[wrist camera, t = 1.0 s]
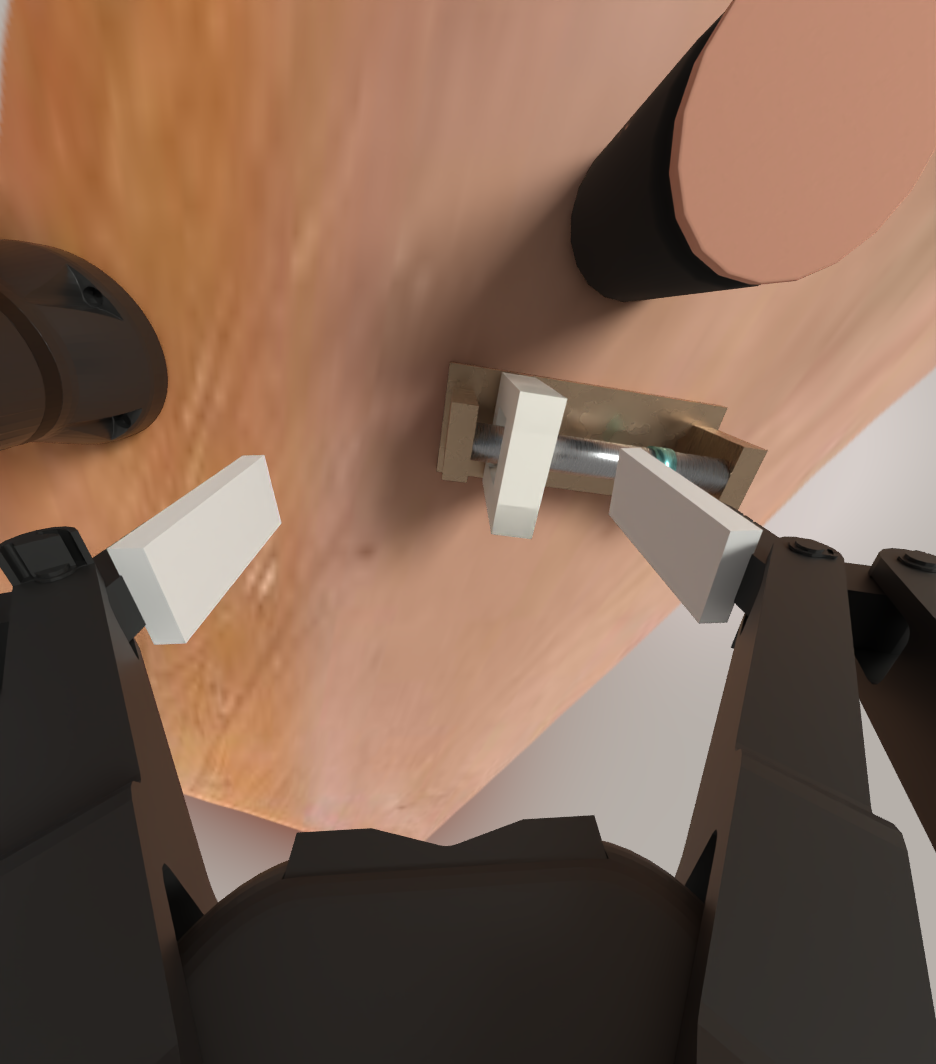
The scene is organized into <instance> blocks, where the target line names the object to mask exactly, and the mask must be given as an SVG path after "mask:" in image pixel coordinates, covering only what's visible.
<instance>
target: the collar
mask: <svg viewBox="0 0 936 1064" xmlns="http://www.w3.org/2000/svg"><path fill="white" fill-rule="evenodd" d="M566 402H567V398H566V397H564V396H563V395H561V394H560V393H558V392H557V391H555V390H554V389H552V388H551V387H549V386H548V385H546V384H545V383H543V382H542V381H540V380H539V379H537V378H536V377H529V376H523V375H517V374H511V373H505V372H502V374H501V380H500V385H499V391H498V397H497V402H496V408H495V413H494V419H493V425H499V426H505V429H504V434H503V439H502V444H501V449H500V455H499V460H498V464H494V463H487V462H486V464H485V469H484V475H483V480H482V482H483V488H484V494H485V500H486V506H487V512H488V518H489V524H490V529H491V534H494V535H503V536H511V537H519V538H527V539H532V535H533V531H534V527H535V523H536V520H537V516H538V512H539V508H540V504H541V500H542V496H543V492H544V488H545V484H546V480H547V477H548V473H549V469H550V465H551V461H552V457H553V453H554V449H555V445H556V441H557V437H558V434H559V430H560V426H561V422H562V418H563V414H564V410H565V406H566Z"/></svg>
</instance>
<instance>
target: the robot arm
mask: <svg viewBox="0 0 936 1064" xmlns="http://www.w3.org/2000/svg"><path fill="white" fill-rule="evenodd" d="M167 386H168V376H167V367H166V362H165V357H164V354H163V350H162V348H161V345H160V342H159V340H158V338H157V335H156V333H155V331H154V329H153V328H152V326H151V324H150V322H149V321H148V319H147V318H146V316H145V314H144V313H143V312H142V310H141V309H140V307H139V306H138V305H137V304H136V302H135V301H134V300H133V299H132V298H131V297H130V296H129V294H128V293H127V292H126V291H125V290H124V289H123V288H122V287H121V286H120V285H119V284H117V283H116V282H115V281H114V280H113V279H112V278H111V277H109V276H108V275H107V274H105V273H104V272H103V271H101V270H100V269H99V268H97V267H96V266H94V265H92V264H91V263H89V262H87V261H86V260H84V259H82V258H80V257H78V256H76V255H74V254H71V253H69V252H66V251H64V250H61V249H57V248H54V247H50V246H45V245H40V244H35V243H29V242H24V241H17V240H0V450H4V449H7V448H10V447H14V446H17V445H21V444H25V443H28V442H46V443H67V444H102V443H109V442H113V441H116V440H119V439H122V438H125V437H128V436H131V435H134V434H136V433H138V432H140V431H142V430H144V429H145V428H147V427H148V426H149V425H150V424H151V423H152V422H153V421H154V420H155V419H156V418H157V416H158V415H159V413H160V411H161V409H162V407H163V405H164V402H165V399H166V394H167ZM609 515H610V517H611V518H612V519H613V520H614V522H615V523H616V524H617V525H618V526H619V528H620V529H621V530H622V531H623V532H624V534H625V535H626V536H627V537H628V538H629V540H630V541H631V542H632V543H633V544H634V546H635V547H636V548H637V549H638V551H639V552H640V553H641V554H642V555H643V557H644V558H645V559H646V560H647V561H648V563H649V564H650V565H651V566H652V567H653V569H654V570H655V571H656V572H657V573H658V575H659V576H660V577H661V578H662V580H663V581H664V582H665V583H666V584H667V586H668V587H669V588H670V589H671V590H672V592H673V593H674V594H675V595H676V596H677V598H678V599H679V600H680V601H681V603H682V604H683V605H684V606H685V607H686V608H687V610H688V611H689V612H690V613H691V615H692V616H693V617H694V618H695V619H696V621H697V622H698V623H699V624H700V623H725V622H727V621H728V619H729V616H730V614H731V611H732V609H733V606H734V603H736V605H737V606H738V607H739V608H740V609H741V610H742V611H743V612H745V614H744V616H743V619H742V621H741V624H740V627H739V629H738V631H737V634H736V637H735V639H734V641H733V644H732V646H731V648H734V651H733V655H732V659H731V663H730V667H729V671H728V675H727V679H726V683H725V687H724V691H723V696H722V699H721V703H720V707H719V711H718V715H717V720H716V723H715V727H714V731H713V735H712V739H711V743H710V747H709V751H708V755H707V759H706V763H705V767H704V771H703V775H702V780H701V783H700V788H699V791H698V796H697V800H696V804H695V808H694V812H693V816H692V820H691V824H690V828H689V832H688V836H687V840H686V844H685V848H684V851H683V855H682V858H681V861H680V864H679V867H678V870H677V873H676V875H675V878H674V877H673V876H672V875H671V874H669V873H668V872H666V871H665V870H663V869H662V868H660V867H659V866H657V865H656V864H654V863H653V862H651V861H650V860H648V859H646V858H644V857H642V856H640V855H638V854H636V853H634V852H633V851H631V850H628V849H626V848H623V847H620V846H618V845H615V844H612V843H609V842H605V841H602V840H601V836H600V833H599V830H598V826H597V823H596V820H595V816H594V815H591V816H574V817H558V818H540V819H523V820H520V821H518V822H515V823H512V824H510V825H507V826H504V827H502V828H499V829H496V830H494V831H491V832H488V833H485V834H483V835H480V836H478V837H475V838H472V839H469V840H467V841H464V842H462V843H459V844H456V845H452V846H440V845H436V844H432V843H428V842H424V841H420V840H416V839H412V838H408V837H404V836H400V835H396V834H392V833H388V832H384V831H380V830H376V829H372V828H369V829H352V830H335V831H317V832H300V833H297V834H296V837H295V841H294V844H293V848H292V851H291V855H290V858H289V860H288V861H285V862H283V863H280V864H278V865H276V866H274V867H272V868H270V869H268V870H266V871H264V872H262V873H260V874H258V875H257V876H255V877H254V878H252V879H250V880H249V881H247V882H246V883H244V884H242V885H241V886H239V887H238V888H237V889H235V890H234V891H233V892H231V893H230V894H229V895H227V896H226V897H225V898H223V899H222V900H221V901H219V902H217V900H216V898H215V895H214V893H213V890H212V888H211V885H210V882H209V879H208V876H207V873H206V870H205V866H204V863H203V859H202V856H201V853H200V849H199V846H198V843H197V839H196V836H195V833H194V830H193V826H192V822H191V819H190V816H189V813H188V809H187V806H186V802H185V799H184V795H183V792H182V789H181V785H180V782H179V779H178V775H177V772H176V769H175V765H174V762H173V759H172V755H171V752H170V748H169V745H168V742H167V738H166V735H165V732H164V728H163V725H162V722H161V718H160V715H159V711H158V708H157V705H156V701H155V698H154V695H153V691H152V688H151V685H150V681H149V678H148V675H147V671H146V668H145V664H144V661H143V658H142V654H141V651H140V648H139V646H138V644H137V642H136V641H135V639H134V637H135V636H136V634H137V633H138V632H139V631H140V630H141V629H142V628H143V627H144V626H145V627H146V629H147V631H148V633H149V635H150V637H151V639H152V641H153V643H154V645H156V644H182V643H187V641H188V640H189V639H190V638H191V636H192V635H193V634H194V633H195V631H196V630H197V629H198V628H199V626H200V625H201V624H202V622H203V621H204V620H205V619H206V617H207V616H208V615H209V614H210V612H211V611H212V610H213V609H214V607H215V606H216V605H217V604H218V602H219V601H220V600H221V599H222V597H223V596H224V595H225V593H226V592H227V591H228V590H229V588H230V587H231V586H232V585H233V583H234V582H235V581H236V580H237V578H238V577H239V576H240V575H241V573H242V572H243V571H244V570H245V568H246V567H247V566H248V564H249V563H250V562H251V561H252V559H253V558H254V557H255V556H256V554H257V553H258V552H259V551H260V549H261V548H262V547H263V546H264V544H265V543H266V542H267V541H268V539H269V538H270V537H271V535H272V534H273V533H274V532H275V530H276V529H277V528H278V527H279V525H280V524H281V520H280V516H279V512H278V508H277V504H276V500H275V496H274V492H273V488H272V484H271V480H270V476H269V472H268V468H267V464H266V460H265V456H264V455H250V456H241V457H240V458H239V459H237V460H236V461H234V462H233V463H231V464H230V465H228V466H227V467H225V468H224V469H222V470H221V471H220V472H218V473H217V474H215V475H214V476H212V477H211V478H209V479H208V480H206V481H205V482H204V483H202V484H201V485H199V486H198V487H196V488H195V489H193V490H192V491H190V492H189V493H188V494H186V495H185V496H183V497H182V498H180V499H179V500H177V501H176V502H174V503H173V504H172V505H170V506H169V507H167V508H166V509H164V510H163V511H161V512H160V513H158V514H157V515H155V516H154V517H153V518H151V519H150V520H148V521H147V522H145V523H143V524H142V525H140V526H139V527H137V528H136V529H134V530H133V531H131V533H129V534H127V535H126V536H124V537H123V538H121V539H120V540H119V541H117V542H115V543H114V544H112V545H111V546H110V547H108V548H107V549H105V550H104V551H102V552H101V553H99V554H98V555H96V556H95V557H93V558H92V557H91V555H90V553H89V551H88V549H87V547H86V545H85V543H84V542H83V540H82V538H81V536H80V534H79V532H78V530H76V529H75V528H74V527H66V526H64V527H51V528H46V529H41V530H36V531H32V532H29V533H25V534H22V535H19V536H16V537H14V538H11V539H9V540H6V541H4V542H2V543H1V544H0V567H1V569H2V570H3V572H4V574H5V575H6V577H7V578H8V580H9V581H10V583H11V584H12V586H13V590H12V592H8V593H2V594H0V1064H936V1018H935V1012H934V1006H933V1000H932V994H931V988H930V982H929V976H928V970H927V964H926V958H925V952H924V946H923V940H922V935H921V928H920V922H919V917H918V911H917V905H916V899H915V893H914V887H913V881H912V875H911V869H910V863H909V857H908V851H907V848H906V845H905V842H904V839H903V835H902V833H901V832H900V831H899V830H898V829H897V827H895V825H894V824H893V823H891V822H889V821H886V820H884V819H882V818H880V817H878V816H876V815H874V814H872V810H871V803H870V794H869V784H868V775H867V766H866V758H865V748H864V739H863V729H862V721H861V711H860V702H859V699H860V701H861V703H862V705H863V707H864V709H865V711H866V713H867V715H868V717H869V719H870V721H871V723H872V725H873V727H874V729H875V731H876V733H877V735H878V737H879V739H880V741H881V743H882V745H883V747H884V749H885V751H886V753H887V755H888V757H889V759H890V761H891V763H892V765H893V767H894V769H895V771H896V773H897V775H898V777H899V779H900V781H901V783H902V785H903V787H904V789H905V791H906V793H907V795H908V797H909V799H910V801H911V803H912V805H913V807H914V809H915V811H916V813H917V815H918V817H919V819H920V821H921V823H922V825H923V827H924V829H925V831H926V833H927V835H928V837H929V839H930V841H931V843H932V846H933V847H934V849H935V851H936V556H934V555H931V554H927V553H925V552H921V551H917V550H915V551H910V550H906V549H896V548H890V549H883V550H882V551H880V552H879V553H878V555H877V557H876V559H875V561H874V562H873V564H872V566H867V565H860V564H852V563H844V558H843V557H842V555H841V554H840V553H839V552H837V551H836V550H835V549H833V548H831V547H829V546H827V545H824V544H822V543H819V542H817V541H814V540H811V539H804V538H798V537H781V538H779V537H777V536H776V535H774V534H773V533H771V532H770V531H768V530H767V529H765V528H764V527H762V526H761V525H759V524H758V523H756V522H753V520H752V519H750V518H749V517H747V516H746V515H745V516H743V513H741V512H740V511H738V510H736V509H735V508H733V507H732V506H730V505H727V504H725V503H722V502H720V501H719V500H717V499H716V498H714V497H713V496H711V495H710V494H708V493H707V492H705V491H704V490H702V489H701V488H699V487H698V486H696V485H695V484H693V483H692V482H690V481H689V480H688V479H686V478H685V477H683V476H682V475H680V474H679V473H677V472H676V471H674V470H673V469H671V468H670V467H668V466H667V465H665V464H664V463H662V462H661V461H659V460H658V459H656V458H655V457H653V456H652V455H650V454H649V453H647V452H646V451H644V450H643V449H641V448H620V453H619V458H618V464H617V470H616V475H615V481H614V486H613V492H612V498H611V503H610V509H609Z"/></svg>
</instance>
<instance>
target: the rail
mask: <svg viewBox="0 0 936 1064" xmlns="http://www.w3.org/2000/svg"><path fill="white" fill-rule="evenodd" d="M502 372H505V373H511V374H517V375H523V376H529V377H536V378H537V379H539V380H540V381H542V382H543V383H545V384H546V385H548V386H549V387H551V388H552V389H554V390H555V391H557V392H558V393H560V394H561V395H563V396H564V397H566V398H567V402H566V406H565V410H564V414H563V418H562V422H561V426H560V430H559V434H558V437H557V441H556V445H555V449H554V453H553V457H552V461H551V465H550V469H549V473H548V477H547V480H546V484H545V487H553V488H560V489H567V490H575V491H582V492H589V493H597V494H604V495H611V496H612V492H613V486H614V481H615V475H616V470H617V464H618V458H619V453H620V448H641V449H643V450H644V451H646V452H647V453H649V454H650V455H652V456H653V457H655V458H656V459H658V460H659V461H661V462H662V463H664V464H665V465H667V466H668V467H670V468H671V469H673V470H674V471H676V472H677V473H679V474H680V475H682V476H683V477H685V478H686V479H688V480H689V481H690V482H692V483H693V484H695V485H696V486H698V487H699V488H701V489H702V490H704V491H705V492H707V493H708V494H710V495H711V496H713V497H714V498H716V499H717V500H719V501H720V502H722V503H725V504H727V505H730V506H732V507H733V508H735V509H736V510H738V509H739V507H740V505H741V503H742V501H743V499H744V497H745V495H746V493H747V491H748V489H749V487H750V485H751V483H752V481H753V479H754V477H755V475H756V473H757V471H758V469H759V467H760V465H761V463H762V461H763V459H764V457H765V455H766V453H767V451H768V450H765V449H763V448H760V447H758V446H755V445H753V444H750V443H748V442H746V441H743V440H741V439H738V438H736V437H733V436H731V435H728V434H726V433H723V432H721V431H719V430H718V429H719V426H720V424H721V422H722V420H723V417H724V415H725V413H726V410H727V407H724V406H719V405H713V404H707V403H701V402H695V401H689V400H683V399H677V398H670V397H664V396H658V395H652V394H646V393H640V392H634V391H627V390H621V389H615V388H609V387H603V386H597V385H591V384H585V383H578V382H572V381H566V380H560V379H554V378H548V377H542V376H536V375H529V374H523V373H517V372H511V371H505V370H499V369H493V368H487V367H480V366H474V365H468V364H462V363H456V362H450V366H449V374H448V382H447V390H446V399H445V407H444V415H443V423H442V431H441V439H440V447H439V456H438V464H437V472H442V480H449V481H456V482H464V483H467V478H468V476H472V477H480V478H483V475H484V469H485V464H486V462H487V463H494V464H498V460H499V455H500V449H501V444H502V439H503V434H504V429H505V426H499V425H493V419H494V413H495V408H496V402H497V397H498V391H499V385H500V380H501V374H502Z"/></svg>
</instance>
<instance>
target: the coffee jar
mask: <svg viewBox="0 0 936 1064" xmlns="http://www.w3.org/2000/svg"><path fill="white" fill-rule="evenodd" d="M935 149H936V0H733V1H732V2H731V4H730V5H729V6H728V8H727V9H726V11H725V12H724V13H723V14H722V15H721V16H720V17H719V18H718V19H717V20H716V21H715V22H714V23H713V24H712V25H711V27H710V28H709V29H708V30H707V31H706V32H705V33H704V34H703V35H702V36H701V37H700V38H699V39H698V40H697V41H696V42H695V43H694V45H693V46H692V47H691V48H690V49H689V50H688V52H687V53H686V54H685V55H684V56H683V57H682V59H681V60H680V61H679V62H678V63H677V64H676V66H675V67H674V68H673V69H672V70H671V72H670V73H669V74H668V75H667V76H666V77H665V79H664V80H663V81H662V82H661V83H660V84H659V86H658V87H657V88H656V89H655V90H654V91H653V93H652V94H651V95H650V96H649V97H648V98H647V100H646V101H645V102H644V103H643V104H642V105H641V107H640V108H639V109H638V110H637V111H636V113H635V114H634V115H633V116H632V117H631V118H630V120H629V121H628V122H627V123H626V124H625V125H624V127H623V128H622V129H621V130H620V131H619V132H618V134H617V135H616V136H615V137H614V138H613V139H612V141H611V142H610V143H609V144H608V145H607V147H606V148H605V149H604V150H603V151H602V152H601V154H600V155H599V156H598V157H597V158H596V159H595V161H594V162H593V164H592V165H591V167H590V169H589V171H588V172H587V174H586V176H585V178H584V180H583V181H582V183H581V185H580V187H579V190H578V193H577V197H576V201H575V204H574V208H573V211H572V216H571V244H572V248H573V252H574V256H575V260H576V264H577V267H578V268H579V270H580V272H581V273H582V275H583V276H584V278H585V280H586V281H587V283H588V284H589V285H590V286H591V287H592V288H594V289H595V290H596V291H598V292H599V293H600V294H602V295H603V296H604V297H607V298H611V299H614V300H618V301H621V302H629V301H639V300H648V299H656V298H664V297H672V296H680V295H688V294H696V293H704V292H713V291H721V290H729V289H737V288H745V287H753V286H758V285H761V284H770V283H779V282H789V281H797V280H799V279H801V278H804V277H806V276H808V275H810V274H813V273H815V272H817V271H819V270H822V269H824V268H826V267H829V266H831V265H833V264H835V263H837V262H838V261H840V260H841V259H842V258H844V257H845V256H846V255H847V254H849V253H850V252H851V251H853V250H854V249H855V248H856V247H858V246H859V245H860V244H862V243H863V242H864V241H865V240H867V239H868V238H869V237H871V236H872V235H873V234H874V233H876V232H877V231H878V229H879V228H880V227H881V226H882V225H883V224H884V222H885V221H886V220H887V219H888V218H889V217H890V215H891V214H892V213H893V212H894V211H895V210H896V208H897V207H898V206H899V205H900V204H901V203H902V201H903V200H904V199H905V198H906V197H907V196H908V194H909V193H910V192H911V191H912V189H913V188H914V186H915V184H916V182H917V181H918V179H919V177H920V175H921V174H922V172H923V170H924V168H925V167H926V165H927V163H928V161H929V160H930V158H931V156H932V154H933V153H934V151H935Z"/></svg>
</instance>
